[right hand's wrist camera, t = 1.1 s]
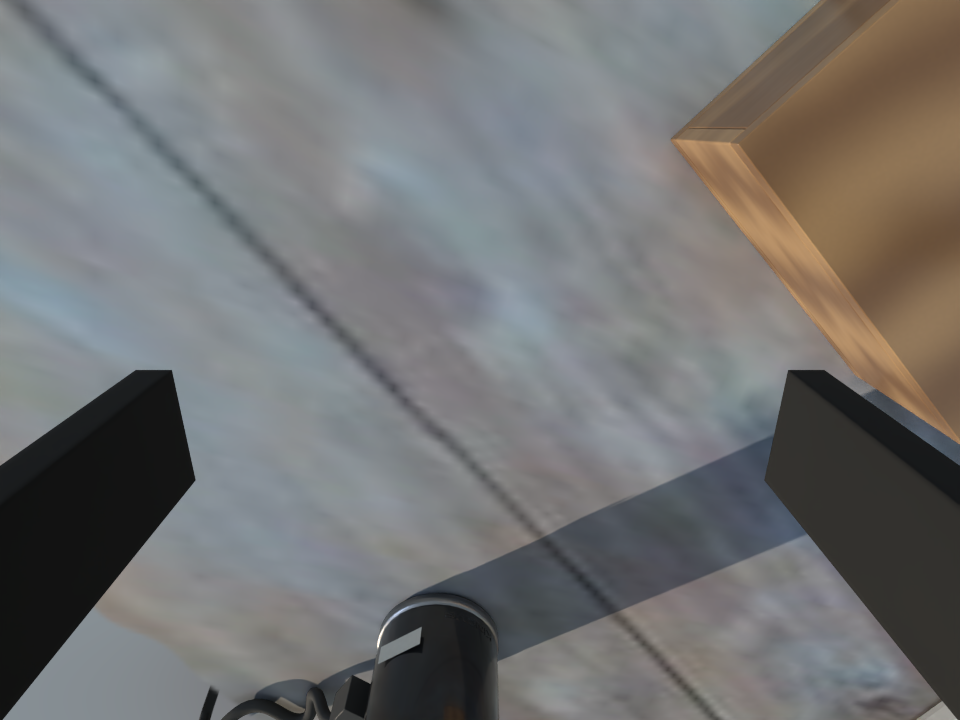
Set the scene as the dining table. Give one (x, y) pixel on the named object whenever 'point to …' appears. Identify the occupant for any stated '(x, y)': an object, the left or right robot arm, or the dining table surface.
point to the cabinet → (855, 185)
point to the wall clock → (938, 713)
